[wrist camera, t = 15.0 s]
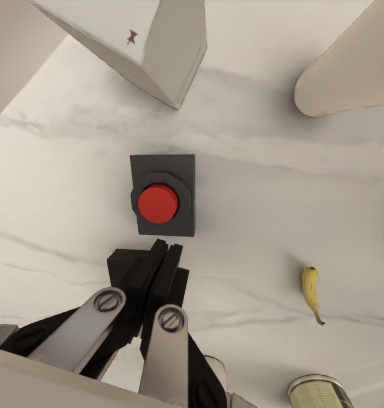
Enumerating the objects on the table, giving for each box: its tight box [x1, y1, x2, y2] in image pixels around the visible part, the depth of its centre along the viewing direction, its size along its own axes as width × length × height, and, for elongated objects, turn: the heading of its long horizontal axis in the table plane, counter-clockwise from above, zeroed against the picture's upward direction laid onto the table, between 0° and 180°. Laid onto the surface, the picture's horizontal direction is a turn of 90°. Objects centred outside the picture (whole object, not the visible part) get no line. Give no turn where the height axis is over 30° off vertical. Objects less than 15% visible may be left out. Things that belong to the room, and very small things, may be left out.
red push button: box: [138, 184, 178, 223], centre depth 21 cm, size 4×4×2 cm
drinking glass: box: [294, 0, 384, 116], centre depth 13 cm, size 7×7×15 cm
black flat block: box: [107, 249, 168, 287], centre depth 29 cm, size 14×10×3 cm
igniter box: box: [130, 154, 195, 237], centre depth 23 cm, size 11×8×4 cm
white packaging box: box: [28, 0, 207, 110], centre depth 15 cm, size 7×7×13 cm
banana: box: [302, 267, 325, 325], centre depth 26 cm, size 8×2×4 cm, turn 14°
